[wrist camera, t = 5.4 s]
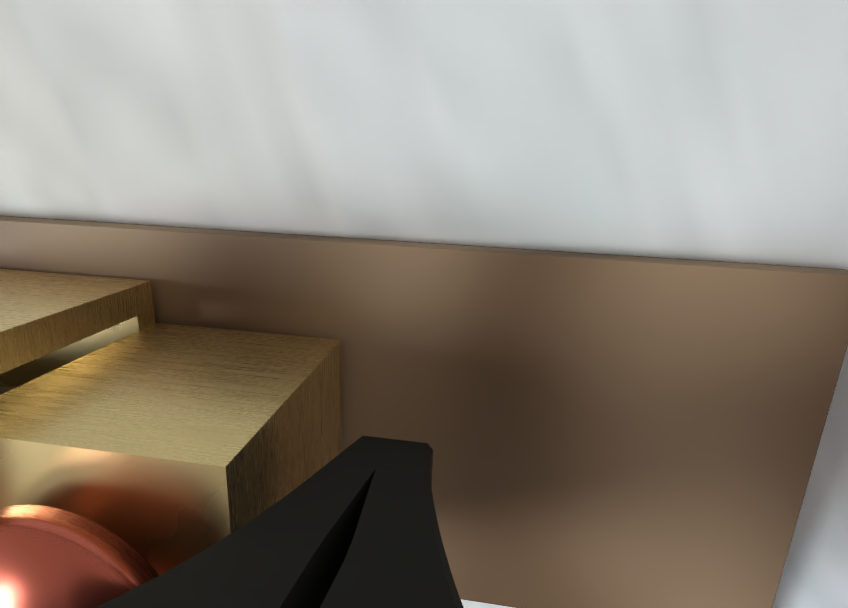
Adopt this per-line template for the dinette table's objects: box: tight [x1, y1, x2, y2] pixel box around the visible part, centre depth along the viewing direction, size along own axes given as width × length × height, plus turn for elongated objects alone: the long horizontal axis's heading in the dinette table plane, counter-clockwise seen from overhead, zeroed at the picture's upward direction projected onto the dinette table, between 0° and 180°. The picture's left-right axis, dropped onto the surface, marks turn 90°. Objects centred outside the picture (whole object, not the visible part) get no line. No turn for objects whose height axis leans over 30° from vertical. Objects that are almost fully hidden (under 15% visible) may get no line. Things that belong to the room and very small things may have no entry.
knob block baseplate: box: [0, 216, 848, 608], centre depth 9 cm, size 24×8×5 cm, turn 88°
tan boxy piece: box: [0, 269, 342, 608], centre depth 9 cm, size 9×6×5 cm, turn 88°
